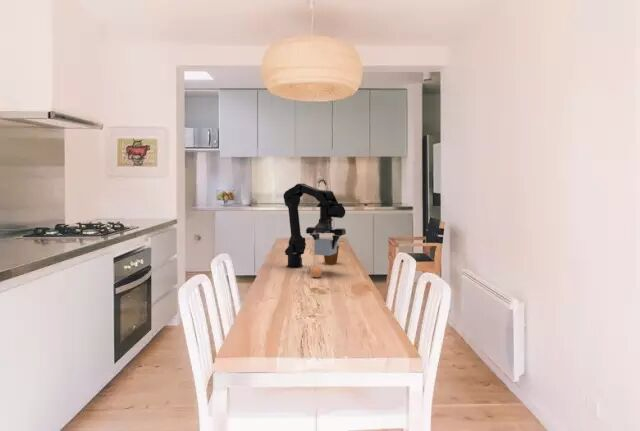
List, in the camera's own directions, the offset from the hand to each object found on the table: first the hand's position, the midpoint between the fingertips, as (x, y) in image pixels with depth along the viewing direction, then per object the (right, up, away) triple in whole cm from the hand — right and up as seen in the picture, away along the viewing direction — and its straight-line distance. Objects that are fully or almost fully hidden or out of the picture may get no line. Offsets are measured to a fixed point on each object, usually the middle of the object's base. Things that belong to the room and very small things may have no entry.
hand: (325, 248), depth 239 cm
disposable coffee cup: (+3, -10, +27) cm, 29 cm away
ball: (-4, -10, -10) cm, 15 cm away
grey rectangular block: (0, -3, 0) cm, 3 cm away
